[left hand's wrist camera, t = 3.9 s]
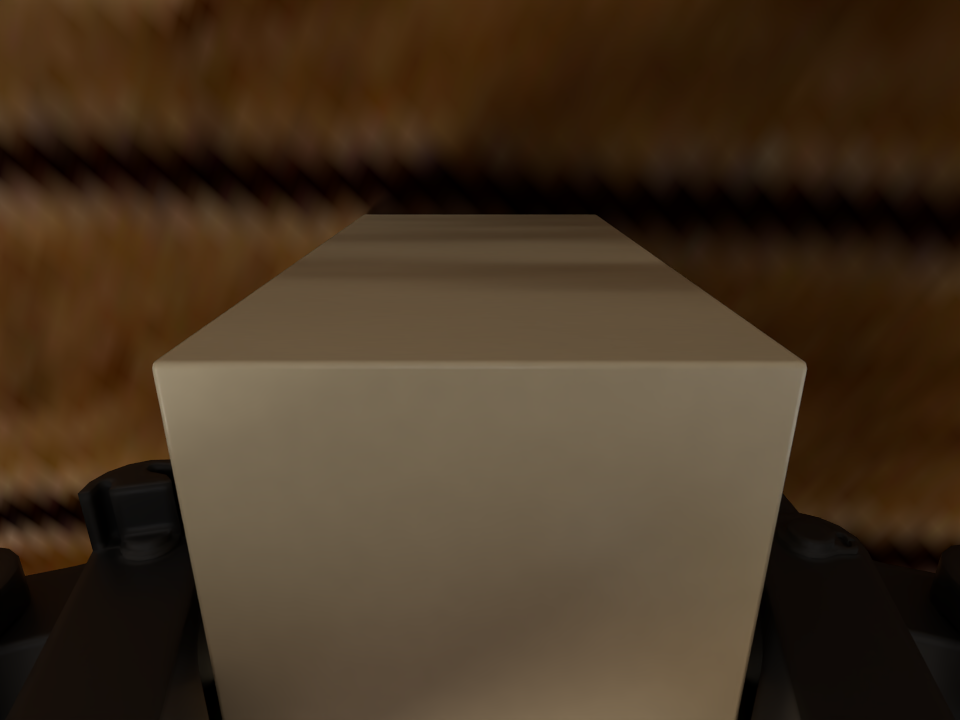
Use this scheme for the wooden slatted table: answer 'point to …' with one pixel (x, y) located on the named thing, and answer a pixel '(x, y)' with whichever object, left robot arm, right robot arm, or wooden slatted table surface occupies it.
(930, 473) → the wooden slatted table surface
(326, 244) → the ash bar
